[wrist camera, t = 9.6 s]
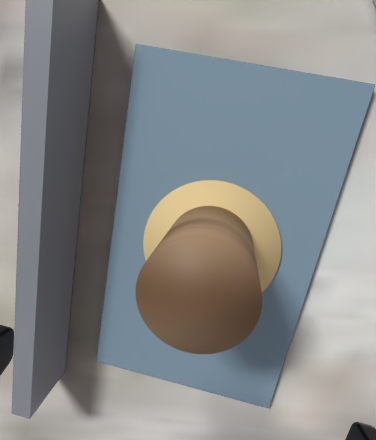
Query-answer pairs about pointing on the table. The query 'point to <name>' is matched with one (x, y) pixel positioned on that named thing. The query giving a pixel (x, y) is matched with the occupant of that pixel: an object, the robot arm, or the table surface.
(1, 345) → the robot arm
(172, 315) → the brown rounded cylinder
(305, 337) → the table surface
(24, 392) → the low wall
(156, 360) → the mat
